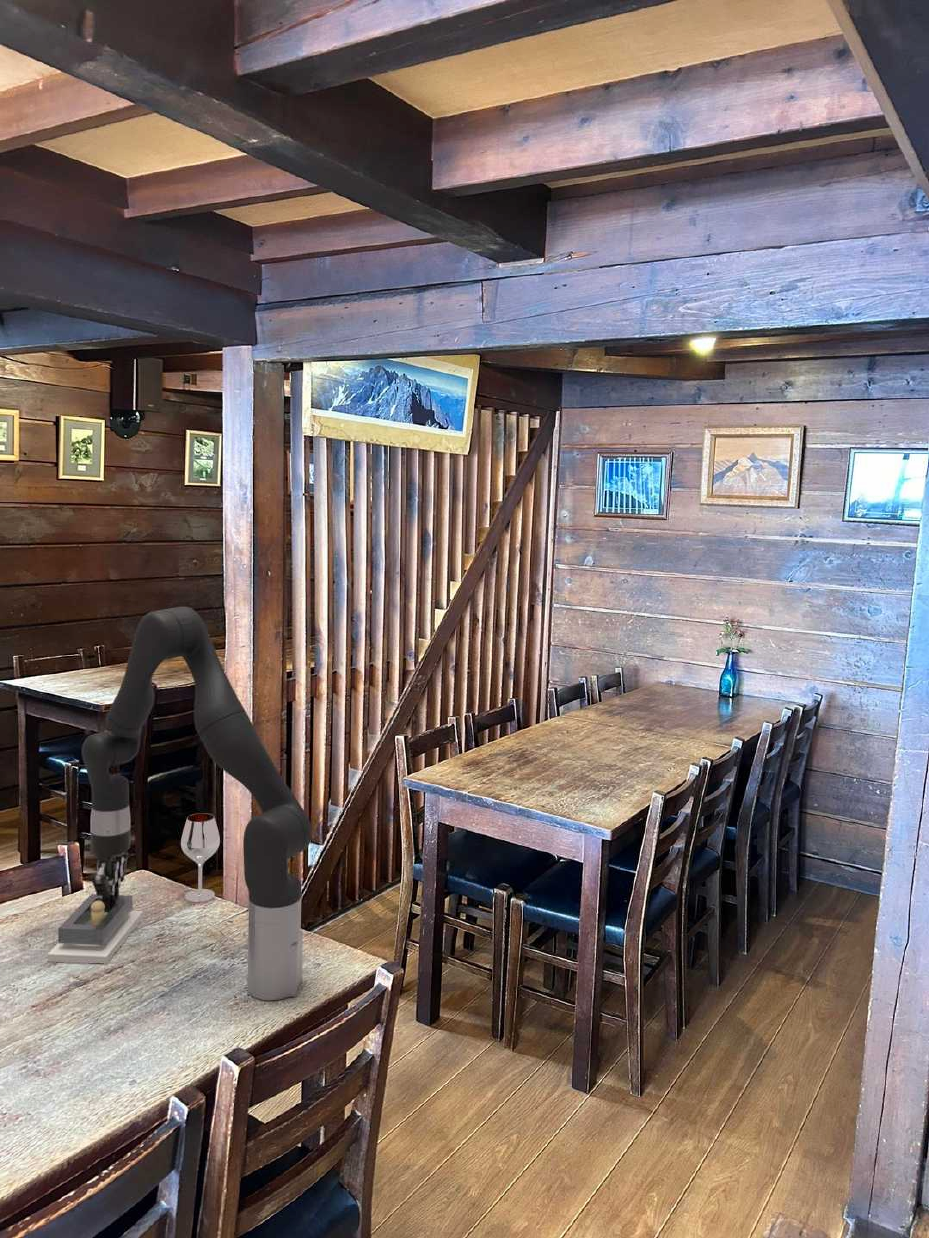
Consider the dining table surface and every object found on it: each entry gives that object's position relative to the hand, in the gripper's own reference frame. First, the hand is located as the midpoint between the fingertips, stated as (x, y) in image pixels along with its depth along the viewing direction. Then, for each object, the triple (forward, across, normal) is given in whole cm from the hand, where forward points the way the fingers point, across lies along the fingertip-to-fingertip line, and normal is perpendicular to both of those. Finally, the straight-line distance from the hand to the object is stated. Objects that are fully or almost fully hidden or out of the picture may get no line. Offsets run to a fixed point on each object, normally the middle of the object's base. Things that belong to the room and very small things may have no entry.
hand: (110, 908), depth 183 cm
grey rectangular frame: (0, -7, 0) cm, 7 cm away
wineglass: (+3, +14, -14) cm, 20 cm away
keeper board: (+3, -7, 0) cm, 7 cm away
